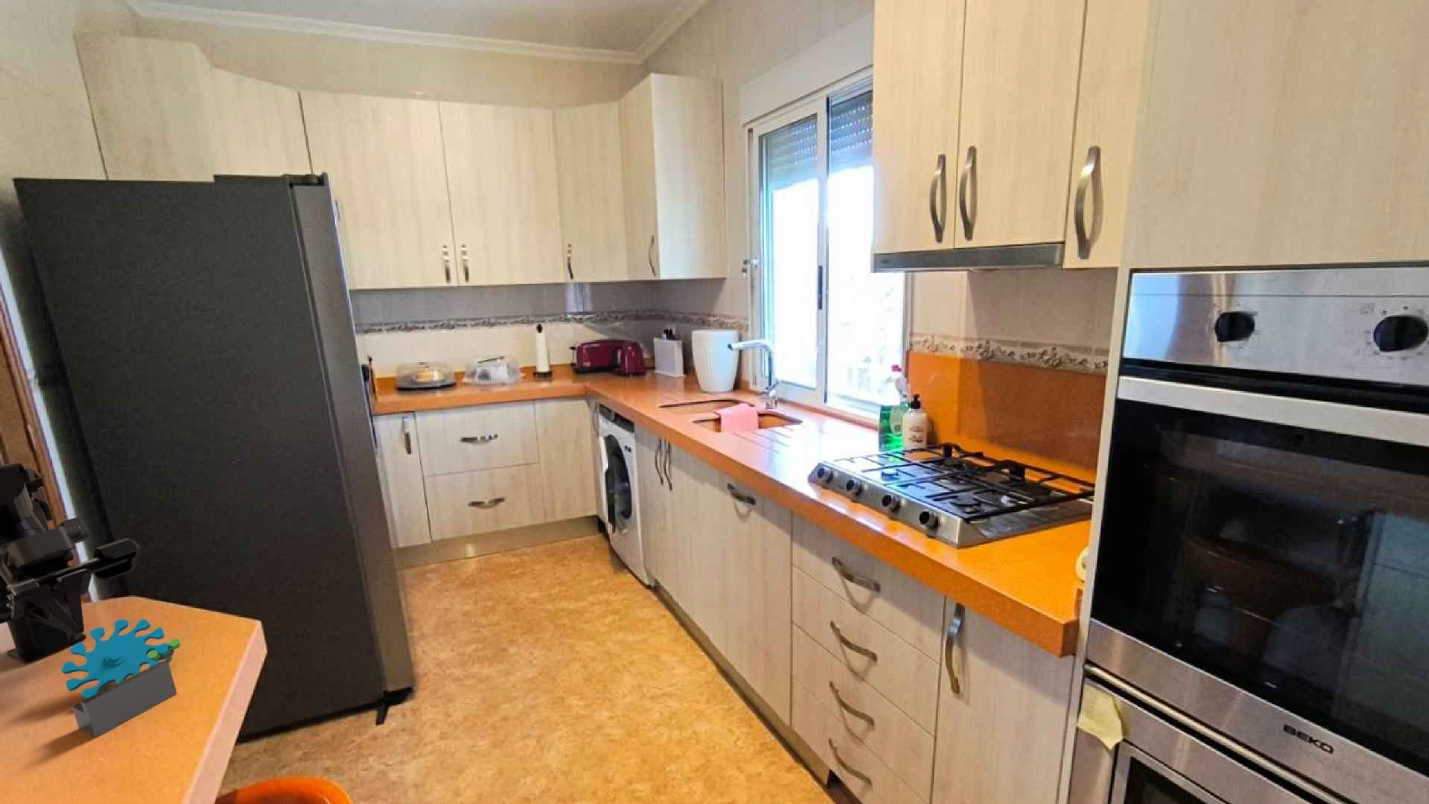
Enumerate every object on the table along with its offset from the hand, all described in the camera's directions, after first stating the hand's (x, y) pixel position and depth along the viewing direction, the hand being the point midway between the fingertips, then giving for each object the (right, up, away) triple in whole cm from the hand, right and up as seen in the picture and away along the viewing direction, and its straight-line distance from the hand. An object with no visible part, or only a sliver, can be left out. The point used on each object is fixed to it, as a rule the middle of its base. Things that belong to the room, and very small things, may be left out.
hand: (79, 632), depth 79 cm
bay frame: (+12, -7, -6) cm, 15 cm away
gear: (+6, -7, 0) cm, 9 cm away
